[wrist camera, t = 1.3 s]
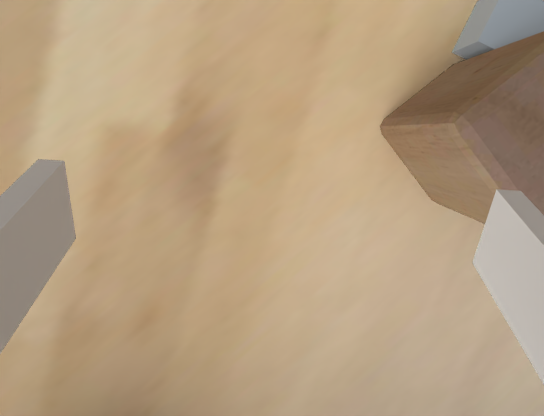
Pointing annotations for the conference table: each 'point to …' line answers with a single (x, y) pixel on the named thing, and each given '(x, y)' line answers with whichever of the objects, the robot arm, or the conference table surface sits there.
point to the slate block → (499, 25)
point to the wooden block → (477, 129)
